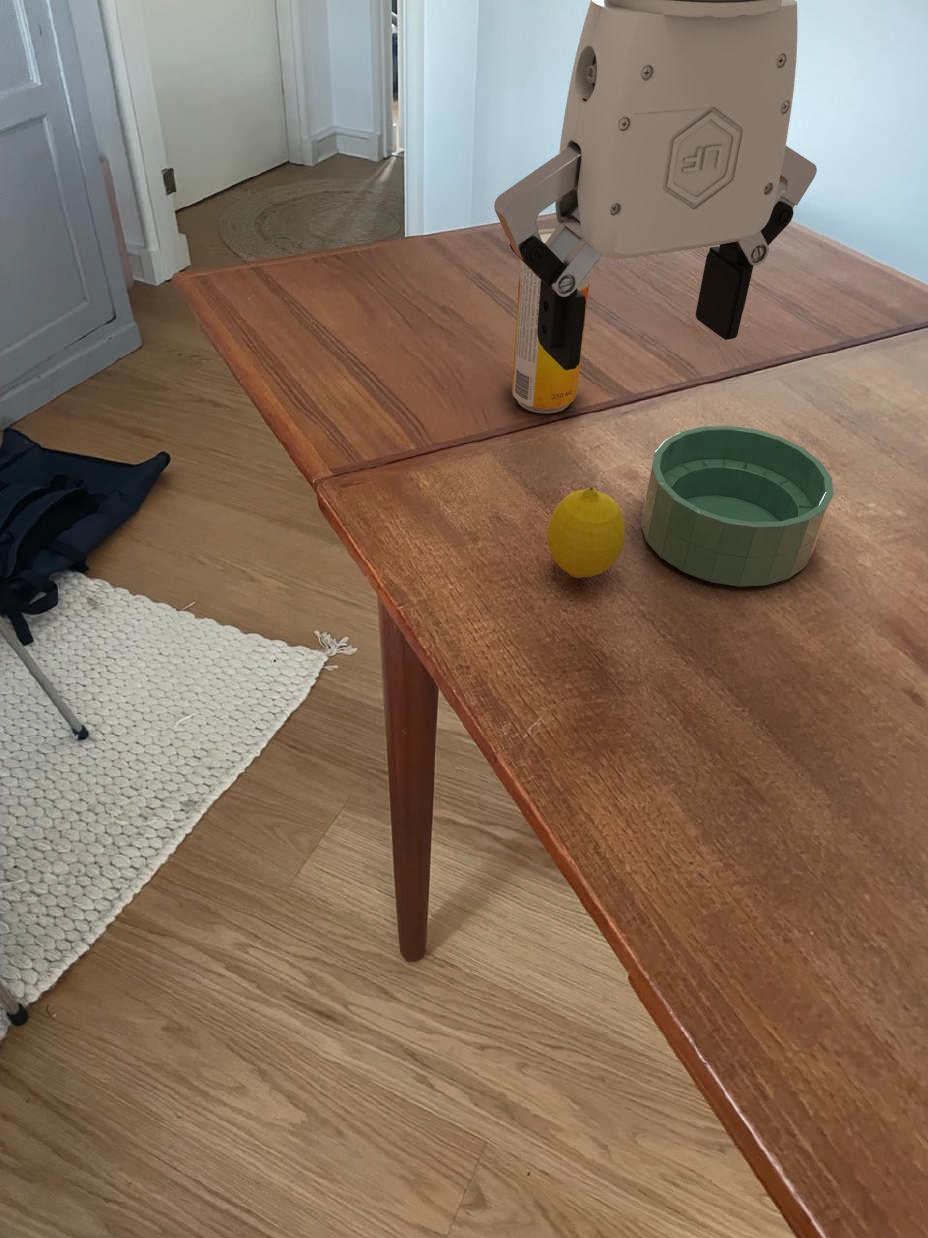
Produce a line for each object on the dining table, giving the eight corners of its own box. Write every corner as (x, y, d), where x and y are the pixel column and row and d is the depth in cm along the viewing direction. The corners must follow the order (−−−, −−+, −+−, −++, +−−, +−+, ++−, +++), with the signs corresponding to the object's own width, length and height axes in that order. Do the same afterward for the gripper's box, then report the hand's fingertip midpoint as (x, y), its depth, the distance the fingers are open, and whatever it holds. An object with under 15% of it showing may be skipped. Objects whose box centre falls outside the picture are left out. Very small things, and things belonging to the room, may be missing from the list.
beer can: (588, 399, 89) (608, 240, 78) (547, 423, 85) (563, 260, 75) (539, 377, 92) (552, 221, 81) (498, 399, 88) (506, 239, 78)
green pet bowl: (846, 566, 71) (871, 502, 67) (700, 609, 67) (718, 544, 63) (744, 474, 80) (761, 413, 76) (610, 507, 76) (620, 444, 72)
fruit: (613, 605, 67) (630, 516, 62) (537, 593, 68) (547, 504, 63) (620, 557, 71) (635, 470, 66) (548, 547, 72) (558, 459, 67)
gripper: (551, -15, 34) (523, 405, 46) (923, -36, 39) (813, 347, 51) (471, -45, 39) (465, 339, 51) (810, -61, 44) (733, 293, 56)
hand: (639, 343), depth 51 cm, fingers open, 9 cm apart
